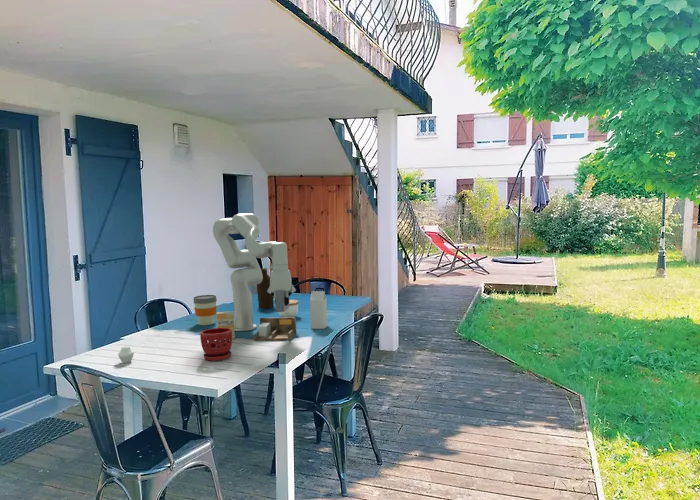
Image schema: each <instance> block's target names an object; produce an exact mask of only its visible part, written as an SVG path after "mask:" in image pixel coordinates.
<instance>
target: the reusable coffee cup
mask: <svg viewBox="0 0 700 500" xmlns="http://www.w3.org/2000/svg"><path fill="white" fill-rule="evenodd" d="M193 304H194V312H195V317H196V319H197V324H198V325H199V326H207V325H213V324H215V323H216V315H217V295H215V294H205V295H204V294H203V295H196V296H194V297H193Z"/></svg>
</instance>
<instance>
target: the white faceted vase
mask: <svg viewBox="0 0 700 500" xmlns="http://www.w3.org/2000/svg"><path fill="white" fill-rule="evenodd" d="M117 355H118V358H119V359H120V362H121V363H122V364H128V363H129V364H130V363H131V362H132V359H133V357H134V355H135V353H134V351H133V350H132V349H131V347H130V346H127V345H124V346H122V347H121V349H120V351H119V352H118V353H117Z"/></svg>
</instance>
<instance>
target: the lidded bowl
mask: <svg viewBox="0 0 700 500" xmlns="http://www.w3.org/2000/svg"><path fill="white" fill-rule="evenodd" d="M299 303H300V302H299V300H297V299H289V308H288V309H287V310H286V311H285V312H277V313H278V315H279V316H280V318H283V317H296V315H297V314H298V312H299V308H300V307H299Z"/></svg>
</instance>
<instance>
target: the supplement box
mask: <svg viewBox="0 0 700 500" xmlns="http://www.w3.org/2000/svg"><path fill="white" fill-rule="evenodd" d="M234 320H235V314H234V311H233V310H230V311H216V328H230V329H231V330H232V340H234V339H236V336H235V335H236V333H235V328H234ZM224 340H226V339H224Z"/></svg>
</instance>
